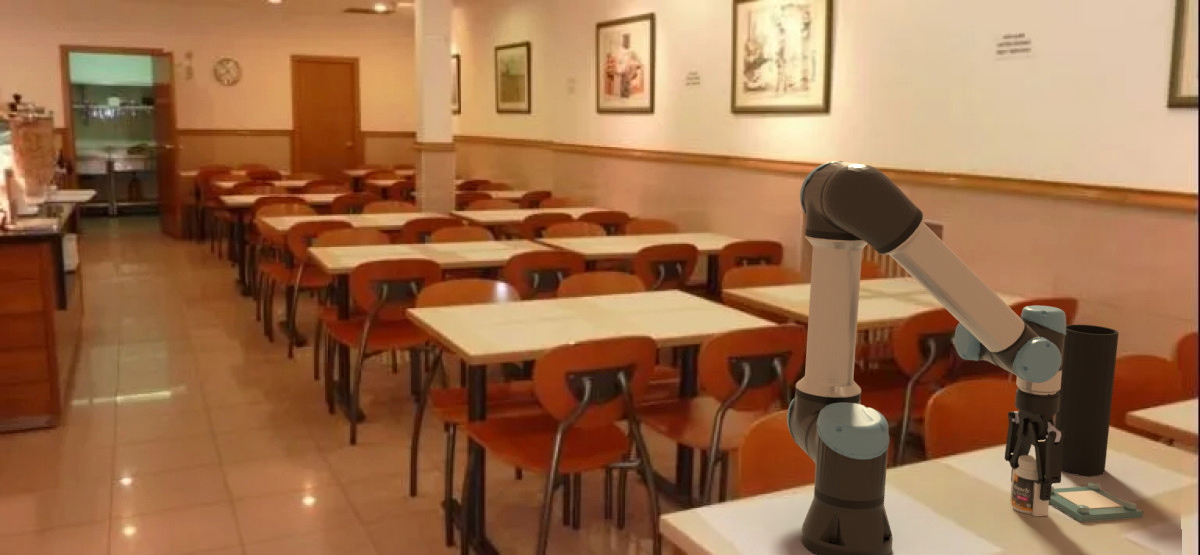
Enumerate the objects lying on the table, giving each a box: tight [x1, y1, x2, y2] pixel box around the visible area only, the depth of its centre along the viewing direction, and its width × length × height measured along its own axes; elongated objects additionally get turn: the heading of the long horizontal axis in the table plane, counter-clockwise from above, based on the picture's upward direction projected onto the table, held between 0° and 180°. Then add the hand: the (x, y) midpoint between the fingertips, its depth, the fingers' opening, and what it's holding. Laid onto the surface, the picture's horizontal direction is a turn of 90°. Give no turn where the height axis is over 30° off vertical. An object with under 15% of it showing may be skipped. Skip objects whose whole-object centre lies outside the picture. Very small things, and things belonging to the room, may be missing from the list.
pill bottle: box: [1010, 454, 1045, 515], centre depth 185 cm, size 6×6×10 cm
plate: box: [1049, 482, 1144, 523], centre depth 187 cm, size 13×13×2 cm
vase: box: [1054, 324, 1119, 477], centre depth 207 cm, size 10×10×30 cm
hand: (1028, 507), depth 186 cm, fingers open, 6 cm apart
